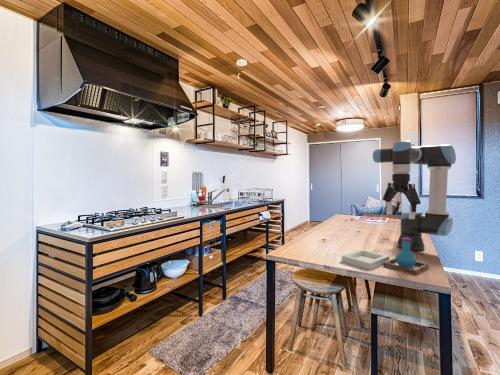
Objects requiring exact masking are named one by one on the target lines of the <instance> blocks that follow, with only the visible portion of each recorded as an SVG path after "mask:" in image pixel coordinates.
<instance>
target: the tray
mask: <svg viewBox="0 0 500 375" xmlns="http://www.w3.org/2000/svg"><path fill="white" fill-rule="evenodd" d="M390 259H391V258H390V255H387V254H384V253H378V252H375V251H372V250H366V249H362V248H361V249H358V250H354V251H352V252H349V253H346V254H343V255H341V262H342V263H347V264H349V265H353V266H356V267H360V268H363V269H367V270H371V271H372V270H373V269H375V268H378V267H379V266H382V265H383V266H384V262H386V261H388V260H390Z"/></svg>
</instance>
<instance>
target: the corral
mask: <svg viewBox="0 0 500 375" xmlns="http://www.w3.org/2000/svg"><path fill="white" fill-rule="evenodd" d="M395 263H397V261H396V256H395V257H393V258H390V260H388V261H386V262H384V264H383V267H386V268H389V269H392V270H395V271H396V270H397V271H400V272H403V273H407V274H410V275H413V276H417V275H418V274H420V273H422V272H424V271H426V270H427V269H429V263H425V262H420V261H416V264H415V266H417V268H415V269H414V268H413V269H410V268H406V267H402V266H398V265H399V264H395ZM415 266H414V267H415Z"/></svg>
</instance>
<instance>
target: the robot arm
mask: <svg viewBox="0 0 500 375" xmlns="http://www.w3.org/2000/svg"><path fill="white" fill-rule="evenodd" d="M456 156H457V155H456V151H455V148H454V146H453V145H452V144H450V143H449V144H446V143H445V144H442V143H441V144H432V145H420V146H412V143H411V141H410V140H399V141H395V142H393V145H392V148H380V149H379V148H378V149H375V150H374V151H373V153H372V159H373V162H375V163H377V164H379V163H381V164H383V163H386V164H387V163H392V169H391V170H392V173H393V174H391V177H392V178H391V180H392V182H388V183H387V187H386V190H385V193H384V194H383V197H382V200H383V201H385V209H386V212H385V213H386V216H389V215H392V214H393V201H392V200H393V199H394V197H395V196H396V195H397V194H398V193H402V194H403V195H404V196H405V197H406V199H407V200H408V202H409V205H408V211H404V212H402V213H401V214H400V235H399V237H398V240H397V242H396V246H397V247H398V248H401V249H402V238H403V237H407V238H411V239H412V240H411V243H410V251H424V250H425V248H426V247H425V246H426V245H425V243H424V239H423V236H422V234H426V235H433V236H438V237H439V236H440V237H447V236H448V235H449V234H450V233H451V230H452V228H453V221H454V220H453V217H452V216H450V213H449V212H448V211H447V194H448V192H447V191H448V177H449V176H448V175H449V170H450V169H452V165H454V164H455V163H456V161H457V157H456ZM411 164H413V165H422V166H423V165H424V166H427V169H428V170H429V188H428V209H427V210H426V211H425V212H424V214H423V212H422V211H419V210H417V206H418V205H420V204H421V202H422V201H421V200H420V197H419V194H418V192H417V189H416V185H415V183H409V182H410V181H411V174H410V173H411Z"/></svg>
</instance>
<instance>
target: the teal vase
mask: <svg viewBox="0 0 500 375" xmlns="http://www.w3.org/2000/svg"><path fill="white" fill-rule="evenodd" d="M411 240H412V239H411V238H407V237H403V238H402V248H401V250H400V251H399V252H398V253H397V254H396V256H395V257H396V261H397V262H396V263H397V265H398V266H402V267H406V268H410V269H413V270H414V267H415V264H416V261H417V258H416V256H415V255H414V253H413V252H412V250H410V243H411ZM417 262H418V261H417Z"/></svg>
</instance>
